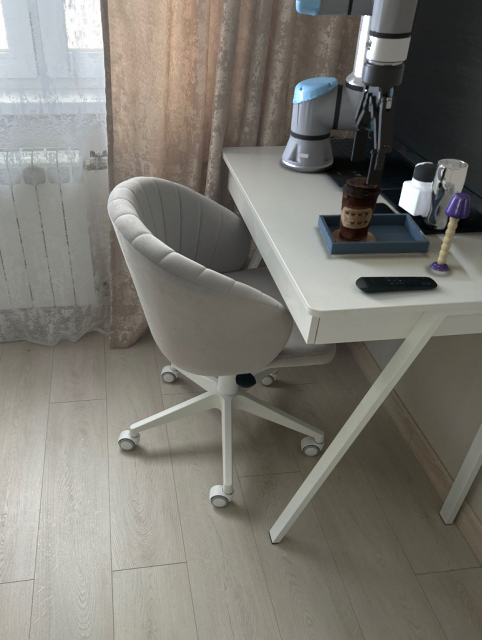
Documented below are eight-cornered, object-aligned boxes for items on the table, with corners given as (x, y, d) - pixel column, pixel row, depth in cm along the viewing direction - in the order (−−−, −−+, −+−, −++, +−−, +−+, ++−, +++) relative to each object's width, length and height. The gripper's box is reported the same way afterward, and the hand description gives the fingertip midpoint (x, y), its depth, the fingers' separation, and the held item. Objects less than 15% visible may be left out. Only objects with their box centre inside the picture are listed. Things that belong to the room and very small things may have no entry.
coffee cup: (372, 247, 127) (383, 190, 118) (334, 244, 128) (343, 187, 120) (371, 230, 133) (382, 175, 125) (335, 227, 135) (343, 173, 126)
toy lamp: (429, 263, 123) (450, 188, 113) (451, 267, 122) (475, 192, 111) (427, 273, 120) (448, 197, 109) (450, 277, 119) (474, 201, 108)
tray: (317, 228, 137) (319, 214, 135) (405, 226, 138) (408, 213, 135) (330, 258, 126) (332, 243, 123) (426, 256, 126) (430, 241, 124)
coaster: (327, 229, 135) (327, 228, 134) (368, 228, 135) (369, 227, 135) (336, 248, 127) (336, 247, 127) (380, 247, 127) (380, 246, 127)
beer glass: (415, 222, 139) (430, 161, 130) (437, 217, 142) (454, 156, 132) (434, 233, 135) (452, 170, 125) (457, 228, 137) (476, 166, 127)
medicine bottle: (437, 215, 142) (450, 168, 135) (412, 219, 141) (424, 171, 133) (421, 204, 148) (433, 158, 140) (397, 208, 146) (407, 161, 138)
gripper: (350, 48, 117) (335, 152, 131) (383, 77, 98) (362, 195, 112) (386, 47, 117) (367, 151, 131) (426, 76, 98) (399, 194, 112)
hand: (364, 172), depth 121 cm, fingers open, 13 cm apart
